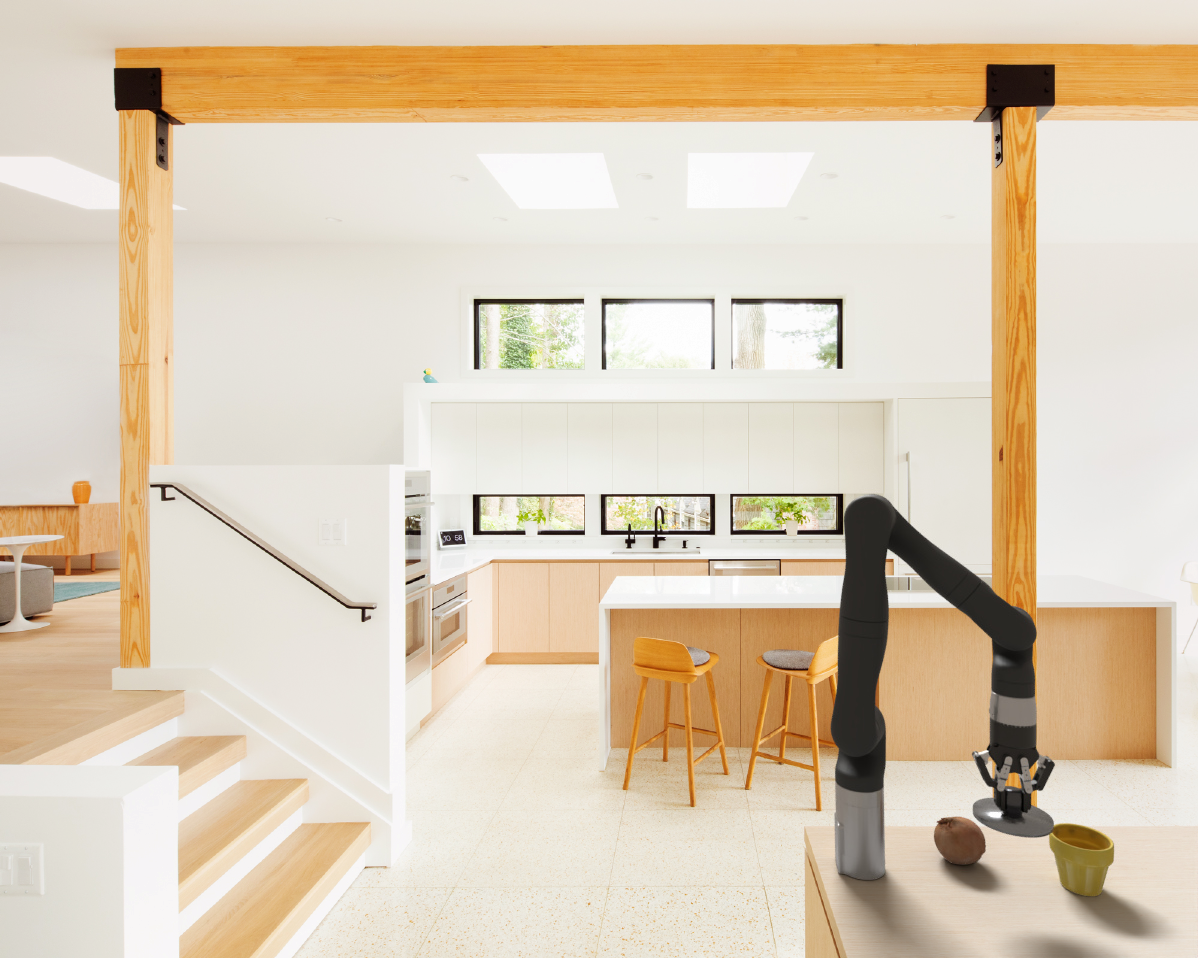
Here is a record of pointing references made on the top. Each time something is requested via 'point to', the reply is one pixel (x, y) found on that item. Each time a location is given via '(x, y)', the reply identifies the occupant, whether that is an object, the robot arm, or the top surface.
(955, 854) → the onion
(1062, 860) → the plant pot
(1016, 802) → the lid
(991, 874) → the top surface
